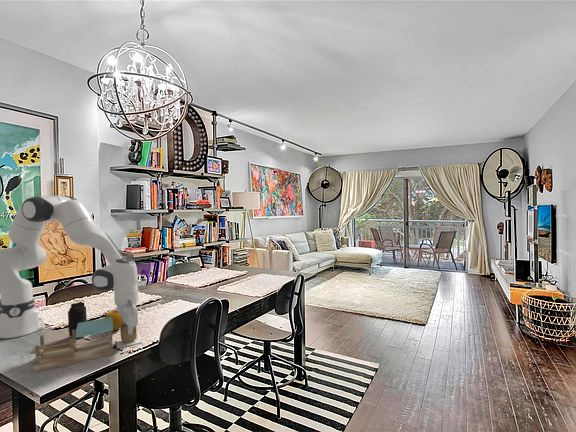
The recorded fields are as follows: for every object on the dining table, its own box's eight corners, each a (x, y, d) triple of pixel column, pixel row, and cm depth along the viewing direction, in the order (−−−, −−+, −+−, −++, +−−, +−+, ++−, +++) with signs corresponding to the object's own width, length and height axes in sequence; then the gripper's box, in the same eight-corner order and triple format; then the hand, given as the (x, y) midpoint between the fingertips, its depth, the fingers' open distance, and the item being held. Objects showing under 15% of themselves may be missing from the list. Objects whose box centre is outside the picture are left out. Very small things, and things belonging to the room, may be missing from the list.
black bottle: (78, 340, 136) (76, 305, 135) (65, 339, 137) (63, 304, 137) (91, 333, 143) (90, 300, 142) (79, 332, 144) (77, 299, 144)
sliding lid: (78, 328, 127) (77, 323, 127) (112, 321, 133) (112, 316, 133) (76, 337, 117) (75, 332, 117) (113, 330, 123) (113, 325, 123)
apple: (121, 333, 142) (120, 313, 142) (100, 334, 141) (99, 314, 141) (129, 325, 151) (128, 306, 151) (109, 326, 150) (108, 307, 150)
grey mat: (116, 340, 135) (116, 339, 134) (139, 335, 139) (139, 334, 139) (117, 348, 127) (117, 347, 127) (142, 343, 131) (141, 342, 131)
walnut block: (120, 338, 133) (120, 324, 133) (133, 335, 136) (133, 321, 136) (123, 342, 129) (122, 328, 129) (136, 339, 132) (136, 324, 132)
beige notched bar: (40, 356, 122) (39, 334, 122) (112, 340, 134) (111, 321, 134) (33, 372, 110) (32, 348, 110) (113, 354, 122) (112, 332, 122)
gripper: (141, 302, 126) (143, 336, 126) (129, 291, 142) (131, 322, 143) (123, 305, 122) (125, 341, 123) (113, 294, 138) (115, 325, 139)
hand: (128, 331), depth 133 cm, fingers open, 5 cm apart
